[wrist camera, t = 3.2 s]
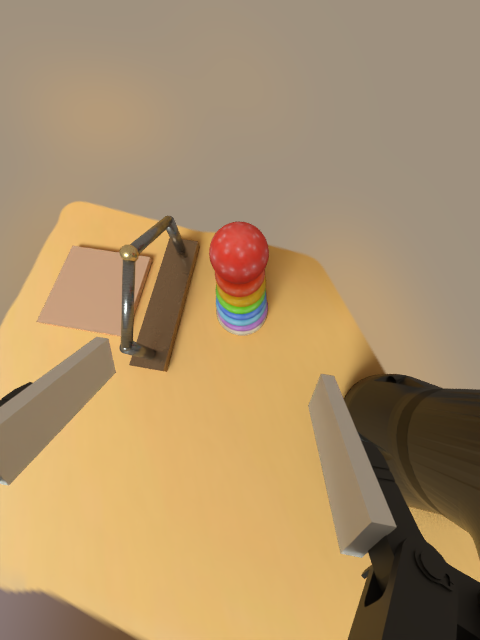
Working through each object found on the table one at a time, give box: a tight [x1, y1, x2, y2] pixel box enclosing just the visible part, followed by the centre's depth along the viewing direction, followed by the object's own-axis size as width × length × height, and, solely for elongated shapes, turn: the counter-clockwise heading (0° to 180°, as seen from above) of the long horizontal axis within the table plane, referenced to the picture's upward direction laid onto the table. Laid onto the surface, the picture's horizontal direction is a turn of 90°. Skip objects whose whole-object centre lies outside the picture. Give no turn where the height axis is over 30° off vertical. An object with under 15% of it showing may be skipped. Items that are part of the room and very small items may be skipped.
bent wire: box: [119, 216, 199, 372], centre depth 27 cm, size 22×5×14 cm, turn 171°
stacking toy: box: [209, 222, 269, 336], centre depth 24 cm, size 8×8×19 cm
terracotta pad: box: [37, 246, 153, 337], centre depth 34 cm, size 14×14×1 cm
